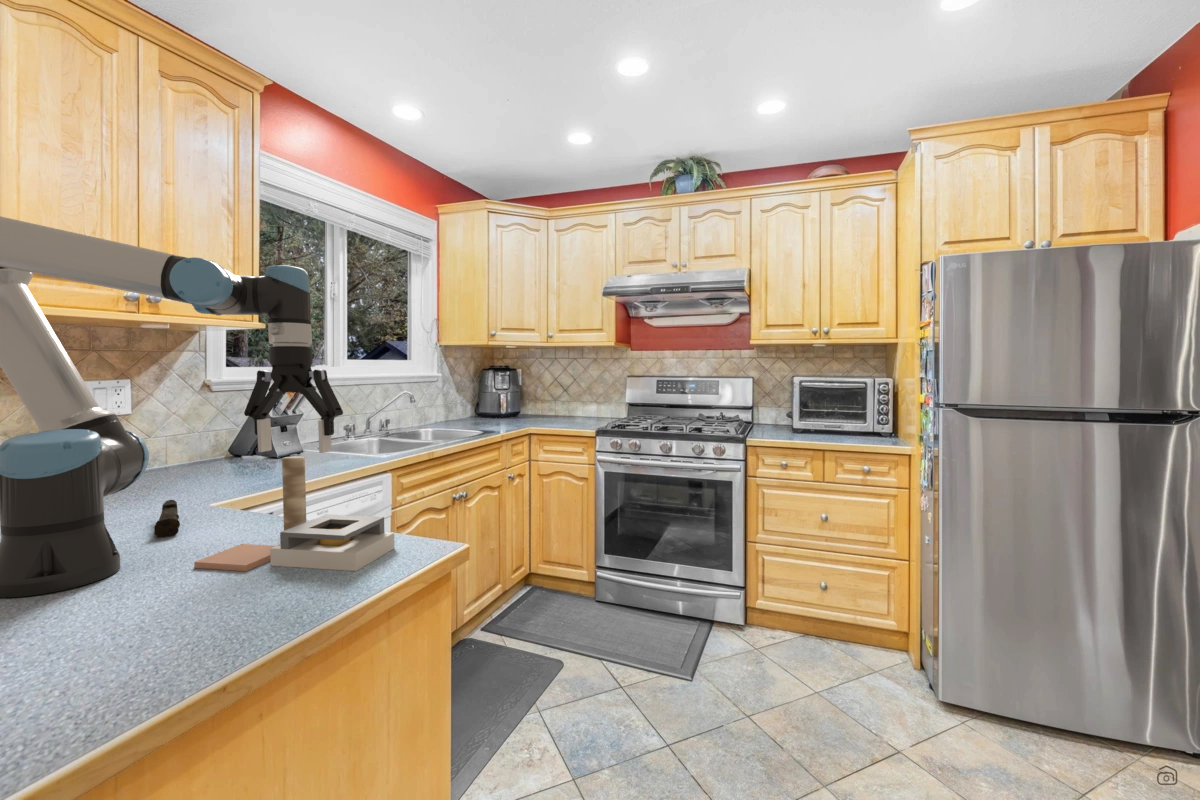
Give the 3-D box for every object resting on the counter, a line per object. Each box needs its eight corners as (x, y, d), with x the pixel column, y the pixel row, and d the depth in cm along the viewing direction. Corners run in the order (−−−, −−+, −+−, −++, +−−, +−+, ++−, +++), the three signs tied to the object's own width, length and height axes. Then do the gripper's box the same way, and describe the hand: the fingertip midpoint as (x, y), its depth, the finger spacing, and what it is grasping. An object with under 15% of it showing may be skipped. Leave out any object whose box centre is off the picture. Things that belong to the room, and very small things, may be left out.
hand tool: (179, 536, 111) (179, 514, 111) (154, 539, 109) (153, 516, 108) (186, 516, 127) (186, 496, 126) (164, 519, 124) (164, 498, 124)
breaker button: (313, 552, 96) (312, 535, 96) (331, 543, 101) (331, 527, 100) (339, 553, 95) (338, 536, 95) (356, 544, 100) (356, 528, 100)
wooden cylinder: (279, 538, 109) (277, 459, 108) (293, 532, 113) (291, 456, 112) (297, 539, 108) (295, 459, 107) (311, 533, 112) (309, 456, 111)
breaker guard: (270, 565, 93) (269, 531, 93) (317, 544, 105) (317, 513, 105) (356, 571, 91) (355, 536, 90) (394, 548, 102) (393, 517, 102)
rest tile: (194, 567, 92) (194, 561, 92) (242, 549, 102) (242, 543, 102) (246, 571, 91) (246, 565, 90) (289, 551, 100) (289, 546, 100)
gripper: (220, 346, 107) (225, 453, 108) (335, 343, 103) (339, 455, 104) (250, 347, 114) (254, 448, 115) (359, 345, 110) (362, 449, 111)
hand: (295, 451), depth 110 cm, fingers open, 13 cm apart
